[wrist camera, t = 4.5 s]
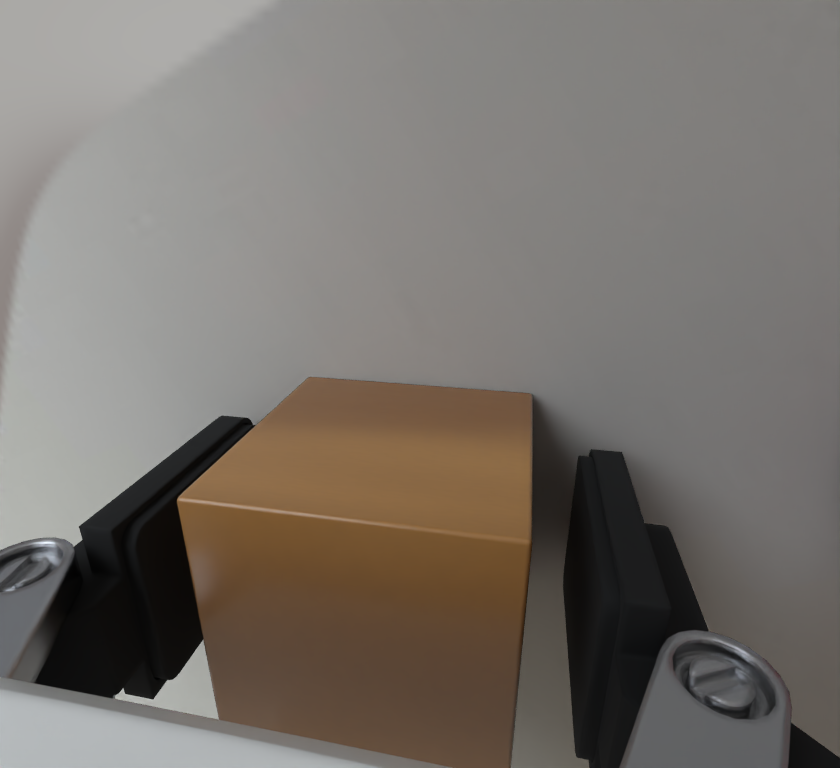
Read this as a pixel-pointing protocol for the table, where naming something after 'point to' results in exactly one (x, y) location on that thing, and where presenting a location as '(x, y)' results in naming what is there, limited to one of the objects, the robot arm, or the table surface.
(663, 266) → the table surface
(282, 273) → the table surface
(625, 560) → the robot arm
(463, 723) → the block
